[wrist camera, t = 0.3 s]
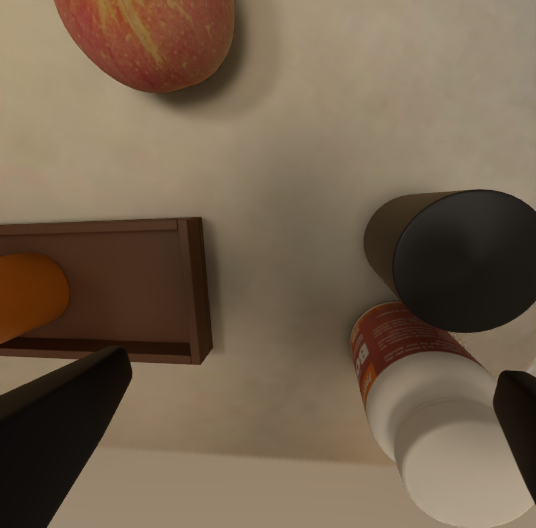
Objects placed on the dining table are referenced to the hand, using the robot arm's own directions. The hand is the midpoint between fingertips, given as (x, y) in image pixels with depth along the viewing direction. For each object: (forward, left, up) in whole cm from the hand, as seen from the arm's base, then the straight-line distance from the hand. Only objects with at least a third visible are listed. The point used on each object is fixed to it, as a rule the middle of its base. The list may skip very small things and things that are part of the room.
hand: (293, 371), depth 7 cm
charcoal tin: (+5, -4, -14) cm, 16 cm away
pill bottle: (-1, -8, -15) cm, 17 cm away
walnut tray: (-15, +15, -14) cm, 25 cm away
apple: (+6, +16, -15) cm, 22 cm away
